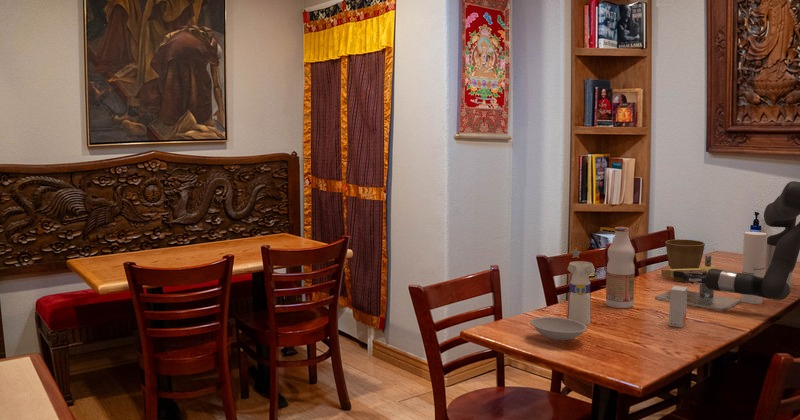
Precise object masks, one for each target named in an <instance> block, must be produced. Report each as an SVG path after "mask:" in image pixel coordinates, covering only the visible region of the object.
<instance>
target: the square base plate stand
mask: <svg viewBox="0 0 800 420" xmlns="http://www.w3.org/2000/svg"><path fill="white" fill-rule="evenodd" d="M704 260H705V261H704V265H706V266H711V265H712V255H707V254H706V255H705V256H704ZM714 292H715V291H714V290H709V289H708V288H707V285H706V283H703V284H699V290H698V292H696V291H692V290H691V291H690V290H687V306H690V307H695V308H702V309H707V310H711V311H717V312H724V311H726V310H727V309H730V308H732V307H734V306H736V305H739V304H741V302H742V301H741V299H738V298H732V297H727V296H720V295H715V294H714ZM670 293H671V290H669V291H666V292H663V293H661V294H658V295H655V296H654V300H657V301H658V300H659V301H663V302H668V303H670Z"/></svg>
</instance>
